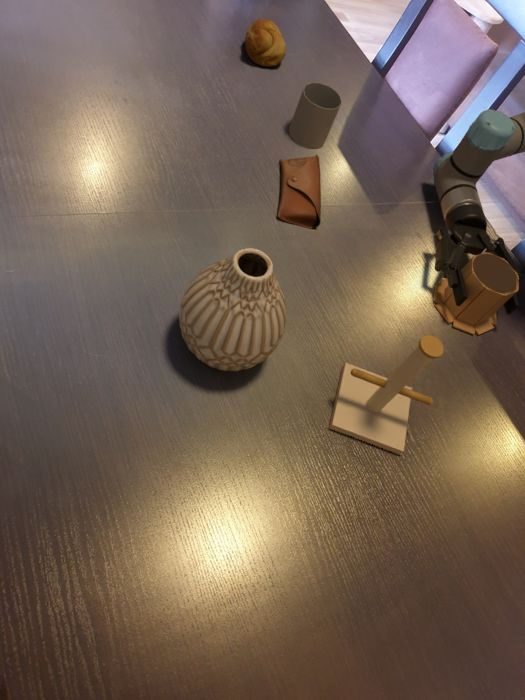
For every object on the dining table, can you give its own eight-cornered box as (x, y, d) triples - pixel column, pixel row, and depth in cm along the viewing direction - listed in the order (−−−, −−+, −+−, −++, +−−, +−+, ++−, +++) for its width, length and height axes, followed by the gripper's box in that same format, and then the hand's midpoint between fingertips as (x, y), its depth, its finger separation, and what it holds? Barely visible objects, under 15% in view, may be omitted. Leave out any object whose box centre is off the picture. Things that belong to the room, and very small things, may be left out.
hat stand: (411, 393, 95) (479, 329, 79) (403, 456, 88) (476, 401, 72) (338, 365, 94) (391, 294, 78) (324, 426, 87) (379, 363, 71)
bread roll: (241, 34, 138) (248, 1, 131) (279, 43, 140) (288, 10, 134) (243, 66, 131) (251, 32, 125) (283, 74, 134) (293, 42, 127)
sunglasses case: (277, 156, 117) (302, 137, 113) (300, 176, 121) (324, 158, 117) (276, 219, 107) (303, 201, 103) (300, 238, 112) (327, 222, 108)
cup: (307, 119, 127) (322, 78, 119) (332, 142, 125) (349, 102, 117) (281, 129, 123) (295, 88, 115) (306, 153, 121) (322, 113, 113)
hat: (496, 293, 113) (528, 261, 105) (494, 343, 106) (528, 313, 98) (437, 269, 112) (464, 235, 104) (431, 318, 105) (460, 286, 97)
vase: (203, 401, 84) (232, 329, 68) (155, 319, 90) (171, 233, 73) (288, 364, 92) (333, 291, 75) (240, 290, 97) (271, 207, 81)
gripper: (500, 238, 119) (528, 325, 108) (404, 219, 114) (421, 308, 103) (523, 212, 113) (554, 302, 101) (422, 191, 108) (443, 283, 96)
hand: (487, 305), depth 102 cm, fingers closed on hat, 10 cm apart
